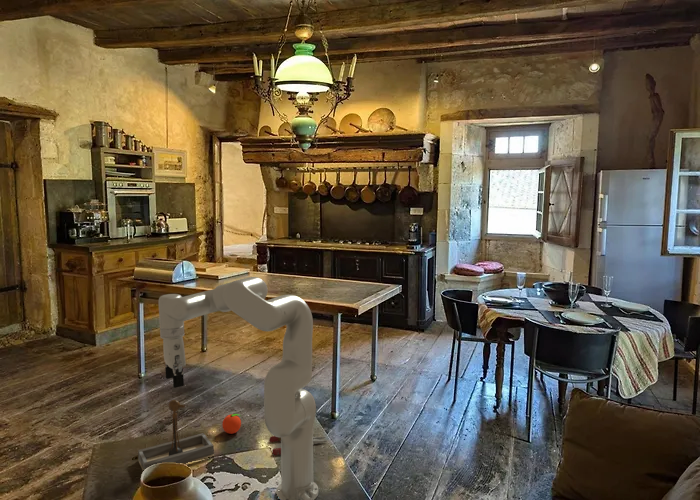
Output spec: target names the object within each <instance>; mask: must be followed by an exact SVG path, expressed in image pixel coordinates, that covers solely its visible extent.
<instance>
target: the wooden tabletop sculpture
mask: <svg viewBox="0 0 700 500" xmlns="http://www.w3.org/2000/svg"><path fill="white" fill-rule="evenodd" d="M180 408H182V409H185V408H186V404H181V403H180V401H179V400H176V399H172V400H170V401H169V402H168V409H169V411H171V412H173V413H172V414H171V417H172V439H171V440H172V448H171V450H170V452H169V456H171V455H174V454H178V453H181V452H183V450H182V449H181V448H180V444H179V439H180V438H179V433H178V429H179V428H178V413H177V412H178V411H179V410H180ZM177 440H178V445H179V447H178V446H177ZM173 441H174V447H173Z"/></svg>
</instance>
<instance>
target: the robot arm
mask: <svg viewBox="0 0 700 500" xmlns="http://www.w3.org/2000/svg"><path fill="white" fill-rule="evenodd" d="M268 292H269V289H268V285H267V283H266V282H265V281H264V280H263V279H262V278H260V277H258V276H249V277H245V278H240V279H235V280H232V281H231V282H227V283H224V284H223V283H222V284H220V285H217V286H215V288H213V289H208V290H205V291H200V292H197V293H194V294H193V293H192V294H190V295H185V296H182V295H181V294H178V293H168V294H162V295H160V296H159V297H158V316H159V318H158V319H159V333H160V334H159V335H160V336H159V337H160V339H162V346H163V350H162V351H163V360H164V365H165V369H164V370H165V379H166V380H168V379H172V384H173V385H172V386H173V388H175V389H176V388H180V387H184V385H185V379H184V369H183V367H186V366H187V365H186V364H187V362H186V352H185V342H184V338H183V337H184V336H185V321H189V320H191V319H192V320H193V319H195V318H198V317H201V316H205V315H208V314H212V313H216V312H222V313H228V312H231V311H232V312H233V313H234V314H235V315H237V316H238V317H240V318H242V319H243V320H244V321H246V322H247V323H249V324H250V325H251V326H253V327H254V328H256V329H258V330H260V331H263V332H272V331H275V330H278V329H279V328H282V327H284V326H286V329H285V332H284V335H283V340H282V357H281V361H280V362H279V363H277V364H275V365H274V366H273V367H271V368H269V370H268V372H267V373H266V375H265V379H264V383H263V384H264V385H263V388H264V389H263V416H264V417H263V419H264V424H265V426H266V428H267V430H268V432H269V433H270V434H271V435H272V436H276V437H281V441H280V448H281V455H280V469H281V470H280V472H281V473H280V474H281V475H280V477H281V479H280V480H281V481H280V482H281V483H280V484H279V485H278V486H277V487H276V490H275V491H276V492H275V495H276V494H277V496H278V497H279V499H281V500H315V499H316V498H317V497H318V495H319V486H318V484H317V483H316V482H314V444H313V437H314V425H315V419H316V412H317V407H316V406H317V404H316V401H315V397H314V395H313V394H312V393H311V392H310V391H308V390H306V389H305V387H306V386H308V385H309V383H310V382H311V380H312V377H313V333H314V332H313V331H314V321H313V315H312V310H311V309H310V307H309V305H308V303H306V301H304V299H303V298H301V297H300V296H297V295H295V294H283V295H279V296H276V297H273V298H271V299H270V298H269V299H267V300H266V298H267V295H268ZM278 490H280V491H278ZM277 496H276V497H277Z"/></svg>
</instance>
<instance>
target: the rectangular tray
mask: <svg viewBox="0 0 700 500" xmlns="http://www.w3.org/2000/svg"><path fill="white" fill-rule="evenodd" d="M178 439H179V444H180V448H181V449H182V450H183V452H181V453H178V454H174V455H171V456H169V452H170V450H171V448H172V441H169V442H164V443H160V444H157V445H153V446H148V447H145V448H142V449H141V448H140V449H138V450H137V452H138V453H137V454H138V456H137V457H138V459H137V461H138V463H139V465H140V468H141V470H142V471H143V470H144V469H146V468H147V467H149V466H151V465H153V464H157V463H162V462H176V463H184V464H186V463H188V462H192V461H196V460H200V459H204V458H208V457H212V456H214V457H215V451H214V450H215V449H214V446H215V445H213V443H212V442H211V440H209V437H207V435H206V434H205V433H203V432H202V433H198V434H194V435H191V436H187V437H183V438H178ZM178 439H177V446H178V447H179V445H178ZM173 447H174V440H173Z"/></svg>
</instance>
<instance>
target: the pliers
mask: <svg viewBox="0 0 700 500" xmlns="http://www.w3.org/2000/svg"><path fill="white" fill-rule="evenodd" d="M325 438H326V436H313V445H317V444H323V443H327V441H328V440H326V439H325ZM324 439H325V440H324ZM268 441H269V443H274V442H275V441H276V442H281V437H276V436H274V435H272V436H270V437H269V439H268ZM276 442H275V443H276ZM271 452H272V455H273V454H274V455H273V456H281V447H275V448H274V449H273V448H272V451H271Z"/></svg>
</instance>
